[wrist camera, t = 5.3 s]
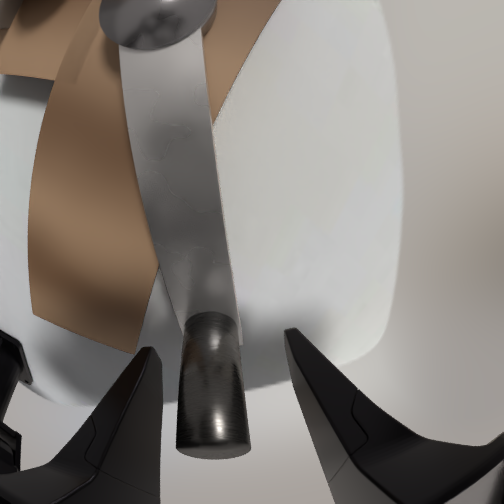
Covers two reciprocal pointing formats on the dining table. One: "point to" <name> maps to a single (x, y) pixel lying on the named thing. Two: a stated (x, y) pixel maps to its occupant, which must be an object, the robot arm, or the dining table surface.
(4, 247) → the dining table surface
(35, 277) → the board
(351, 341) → the dining table surface
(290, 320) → the dining table surface
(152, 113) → the lever
